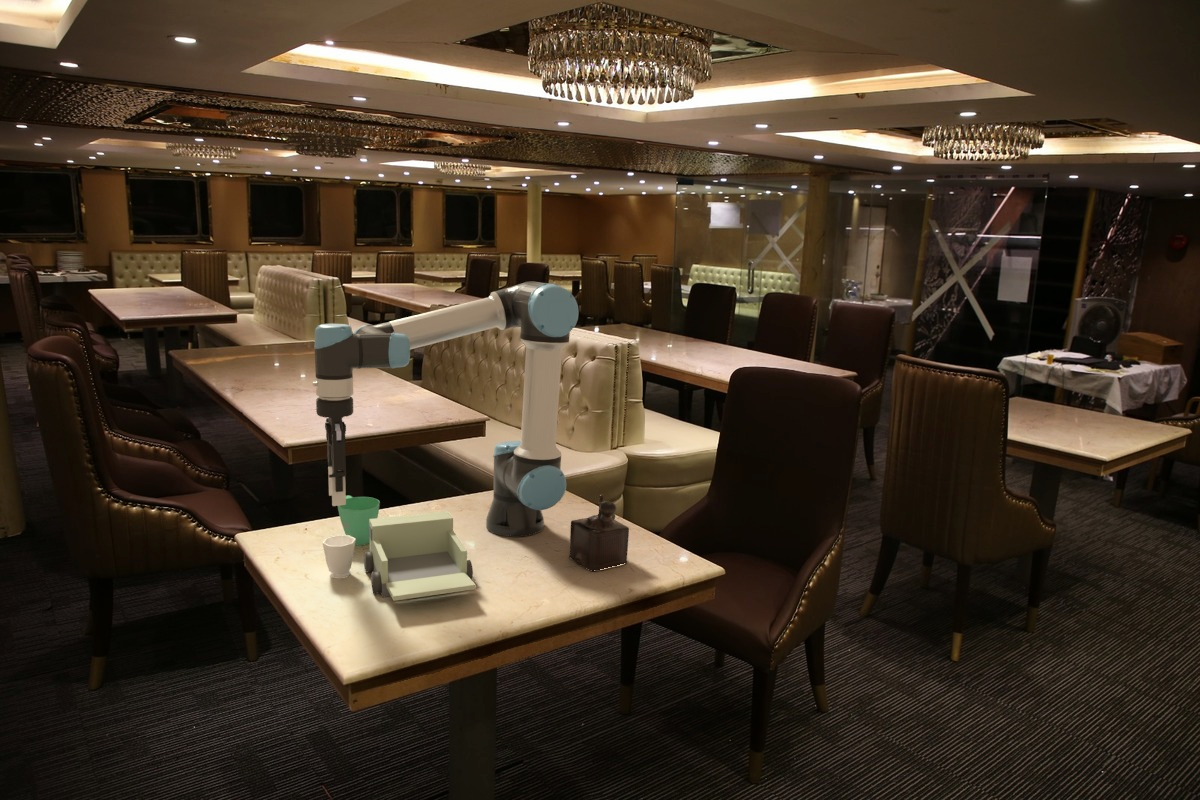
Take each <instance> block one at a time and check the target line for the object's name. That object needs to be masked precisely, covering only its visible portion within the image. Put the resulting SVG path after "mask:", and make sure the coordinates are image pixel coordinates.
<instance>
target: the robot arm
mask: <svg viewBox="0 0 1200 800" xmlns="http://www.w3.org/2000/svg"><path fill="white" fill-rule="evenodd" d="M578 320H579V305H578V302H577V300H576V298H575V296H574V295H573V294H572V293H571V292H570V291H569V289H567V288H565V287H563V286H561V285H558V284H557V283H549V282H548V283H547V282H540V281H534V280H533V281H525V282H523V283H518V284H516V285H513V286H509V287H507V288H502V289H498V290H495V291H492V292H490V295H489V296H488V297H484V298H480V299H476V300H472V301H468V302H465V303H460V304H456V305H452V306H451V305H450V306H448V307H443V308H440V309H435V310H431V311H427V312H423V313H420V314H416V315H411V316H408V317H407V316H406V317H403V318H399V319H395V320H391V321H388V322H383V323H378V324H374V325H373V324H365V325H361V326H359V327H358V328H357V329H355V331H354V332H353V330H352V326H351V325H349V324H345V323H322V324H318V325H317V326H316V328H314V345H313V347H314V348H313V349H314V365H315V367H314V372H315V381H313V382H312V387H315V394H316V396H317V398H316V400H315V405H316V415H317V416H319V417H321V418H326V420H325V422H324V429H325V433H326V435H325V437H326V441H327V442H326V443H327V444H326V447H327V448H326V451H327V453H326V454H327V456H326V459H327V465H328V467H327V470H328V472H327V473H328V496H329V497H330V496H331V505H332V507H336V506H337V507H338V506H339V505H346V496H347V495H346V491H347V490H346V476H347V474H348V473H347V465H346V464H347V462H346V461H347V460H346V441H347V440H346V431H347V424H346V423H345V421H343V418H345V417H347V418H348V417H350V416H352V415H353V414H354V398H353V397H352V396H353V395H354V377H353V371H354V369H357V370H360V369H396V368H404V367H407V366H408V365H409V363H410V360H411V350H413V349H417V348H422V347H425V346H429V345H433V344H437V343H441V342H444V341H449V340H453V339H456V338H460V337H464V336H468V335H472V334H475V333H479V332H482V331H487V330H491V329H495V328H497V329H499V330H501V331H503V330H507V329H511V328H512V329H513V328H514V329H515V328H520V334H519V337H520V338H519V339H520V341H521V343H522V344H524V346H525V360H524V361H525V362H524V376H523V378H524V380H523V381H524V382H523V397H522V414H521V429H520V430H521V431H520V440H509V441H508V440H507V441H502V442H499V443H496V445H495V446H494V453H493V456H492V457H493V499H492V501H491V504H490V508H489V510H488V514H487V516H486V522H485V524H486V525H485V526H486V530H487V531H488V532H490V533H492V534H494V535H498V536H503V537H512V538H513V537H517V538H518V537H520V538H521V537H527V536H528V537H529V536H531V535H535V534H538V533H541V531H543V529H544V527H545V526H544V525H545V524H544V523H545V522H544V521H545V518H544V515H543V511H545V510H548V509H550V508H552V507H554V506H556V505H557V503H558V502H560V501H561V500H562V499H563V498H564V495H565V493H566V490H567V479H566V475H565V474H564V472H563V471H562V470H561V465H562V451H560V450H559V448H557V445H556V444H557V431H558V430H557V429H558V417H559V404H560V403H559V400H560V387H561V386H560V384H561V372H562V371H561V370H562V358H563V357H562V355H563V350H564V348H565V347H566V346H567V345H569V344H570V335H571V334H570V333H571V331H572V330H573V329H574V328H575V327H576V325H577V322H578Z"/></svg>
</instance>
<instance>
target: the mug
mask: <svg viewBox="0 0 1200 800" xmlns="http://www.w3.org/2000/svg"><path fill="white" fill-rule="evenodd" d="M380 506H381V502H380V500H379V499H377V498H374V497H369V496H355V497H354V496H352V495H346V505H339V506H337V510H338V515H339V519H340V523H341V525H342V528H343V531H344V535H349V536H351V537H354V538H356V541H355V546H357V547H358V546H365V545H368V544H370V536H369V519H375V518H379V512H380V511H379V510H380Z"/></svg>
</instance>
